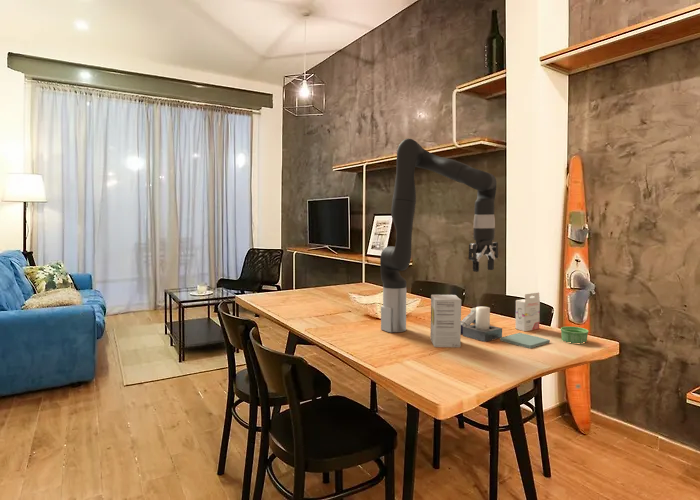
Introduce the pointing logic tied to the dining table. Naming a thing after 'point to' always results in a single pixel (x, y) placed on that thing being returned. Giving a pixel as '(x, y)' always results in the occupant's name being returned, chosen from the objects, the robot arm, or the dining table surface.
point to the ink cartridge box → (528, 312)
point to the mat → (524, 340)
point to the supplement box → (445, 321)
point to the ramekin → (574, 334)
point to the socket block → (482, 333)
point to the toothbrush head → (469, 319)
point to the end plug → (483, 318)
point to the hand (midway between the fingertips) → (483, 270)
